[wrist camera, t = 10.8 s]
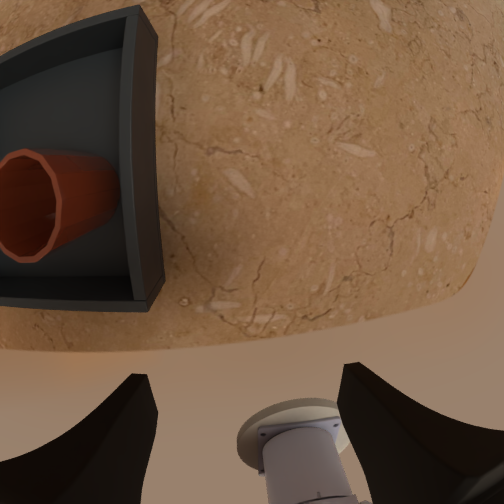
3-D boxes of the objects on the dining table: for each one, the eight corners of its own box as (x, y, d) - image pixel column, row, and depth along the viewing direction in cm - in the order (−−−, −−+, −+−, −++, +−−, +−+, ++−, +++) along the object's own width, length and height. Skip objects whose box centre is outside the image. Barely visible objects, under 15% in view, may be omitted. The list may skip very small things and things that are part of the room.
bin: (165, 281, 19) (148, 313, 14) (-4, 282, 18) (-36, 302, 14) (158, 36, 14) (140, 4, 10) (-16, 94, 14) (-50, 88, 9)
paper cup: (124, 228, 17) (70, 261, 10) (59, 233, 17) (-6, 264, 10) (119, 147, 16) (59, 138, 9) (53, 159, 16) (-17, 162, 9)
